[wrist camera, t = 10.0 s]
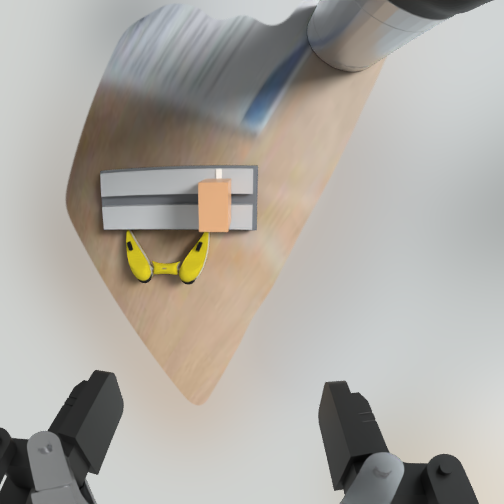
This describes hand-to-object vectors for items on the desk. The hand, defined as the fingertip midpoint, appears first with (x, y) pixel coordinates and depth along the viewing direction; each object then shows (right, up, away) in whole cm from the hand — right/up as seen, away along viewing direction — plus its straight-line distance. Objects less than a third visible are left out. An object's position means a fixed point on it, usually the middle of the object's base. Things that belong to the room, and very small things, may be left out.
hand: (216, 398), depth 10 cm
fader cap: (-2, +11, +22) cm, 25 cm away
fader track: (-7, +12, +24) cm, 27 cm away
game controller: (-8, +6, +26) cm, 28 cm away
